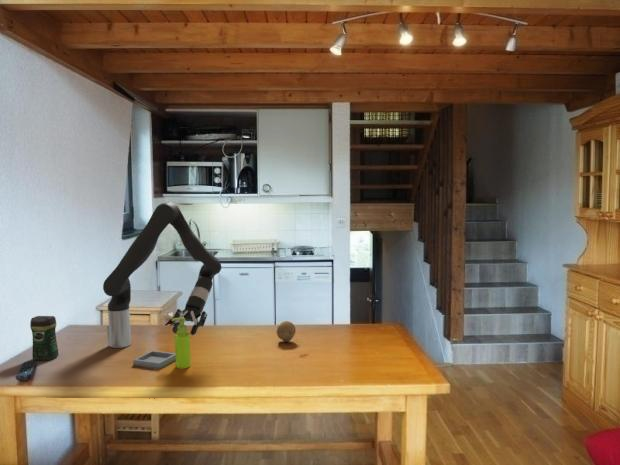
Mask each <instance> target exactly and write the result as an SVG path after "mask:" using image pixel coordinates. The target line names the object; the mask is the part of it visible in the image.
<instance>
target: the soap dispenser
mask: <svg viewBox="0 0 620 465" xmlns="http://www.w3.org/2000/svg"><path fill="white" fill-rule="evenodd" d="M170 320H171V321H172V322H173V321H176V320H180V321H179V322H180V325H179V326H178V331H177V333H175V334H174V350H175V352H174V353H175V354H176V360H175V367H176V369H187V368H189V367H191V366H192V362H191V334H190V333H188V332H187V326H186V324H185V322H186V321H185V318H184V317H183V318H174V319H173V318H172V319H170ZM184 321H185V322H184Z"/></svg>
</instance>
